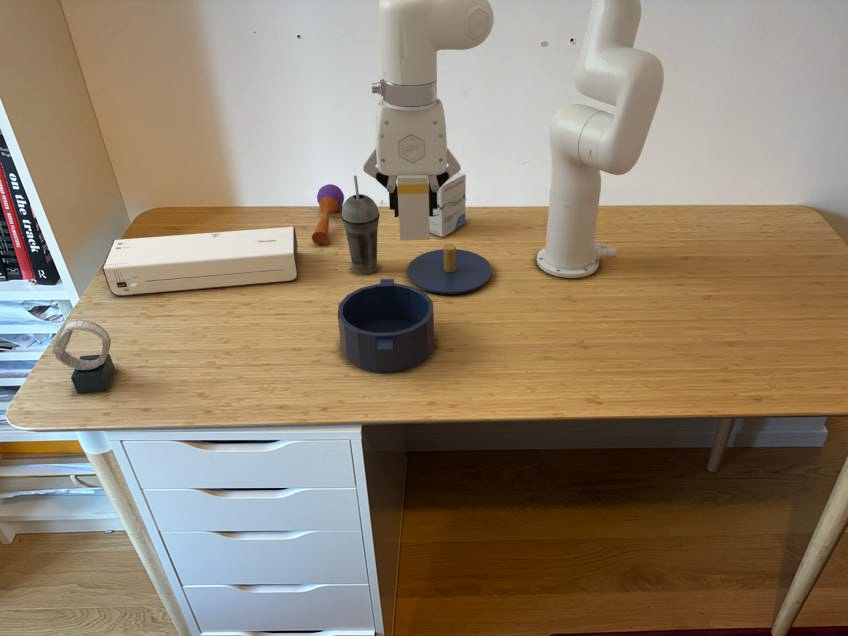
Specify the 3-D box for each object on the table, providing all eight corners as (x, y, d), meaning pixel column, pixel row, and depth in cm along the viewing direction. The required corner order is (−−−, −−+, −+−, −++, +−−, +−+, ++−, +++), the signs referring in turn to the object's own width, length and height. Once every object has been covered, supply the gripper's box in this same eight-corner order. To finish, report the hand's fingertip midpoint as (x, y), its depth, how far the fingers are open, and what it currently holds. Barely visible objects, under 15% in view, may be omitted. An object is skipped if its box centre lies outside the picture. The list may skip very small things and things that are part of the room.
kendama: (301, 228, 147) (315, 181, 162) (310, 252, 151) (323, 204, 166) (329, 224, 146) (341, 177, 161) (338, 248, 150) (348, 200, 165)
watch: (73, 372, 115) (49, 315, 108) (126, 368, 116) (106, 311, 109) (63, 394, 110) (38, 337, 103) (118, 390, 111) (97, 332, 105)
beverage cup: (386, 261, 145) (380, 166, 133) (379, 279, 139) (371, 182, 127) (351, 258, 145) (342, 164, 133) (342, 276, 140) (331, 180, 128)
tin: (431, 309, 131) (431, 274, 127) (436, 381, 115) (435, 343, 110) (346, 312, 130) (342, 276, 125) (338, 385, 113) (333, 347, 109)
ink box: (448, 217, 161) (448, 167, 154) (466, 223, 159) (466, 173, 152) (424, 231, 155) (423, 180, 148) (442, 238, 153) (442, 186, 146)
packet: (428, 217, 115) (426, 157, 109) (429, 239, 109) (428, 177, 103) (399, 218, 114) (396, 158, 108) (399, 240, 108) (396, 177, 102)
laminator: (298, 253, 147) (294, 225, 143) (299, 283, 137) (294, 255, 133) (122, 267, 141) (113, 239, 137) (110, 300, 131) (100, 271, 128)
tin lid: (487, 252, 149) (488, 226, 145) (496, 295, 135) (497, 267, 132) (407, 254, 147) (406, 227, 144) (407, 298, 134) (406, 269, 130)
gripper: (346, 100, 95) (357, 225, 106) (472, 100, 97) (470, 223, 108) (349, 83, 101) (359, 203, 112) (468, 83, 103) (466, 202, 114)
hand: (413, 211), depth 110 cm, fingers closed on packet, 4 cm apart
